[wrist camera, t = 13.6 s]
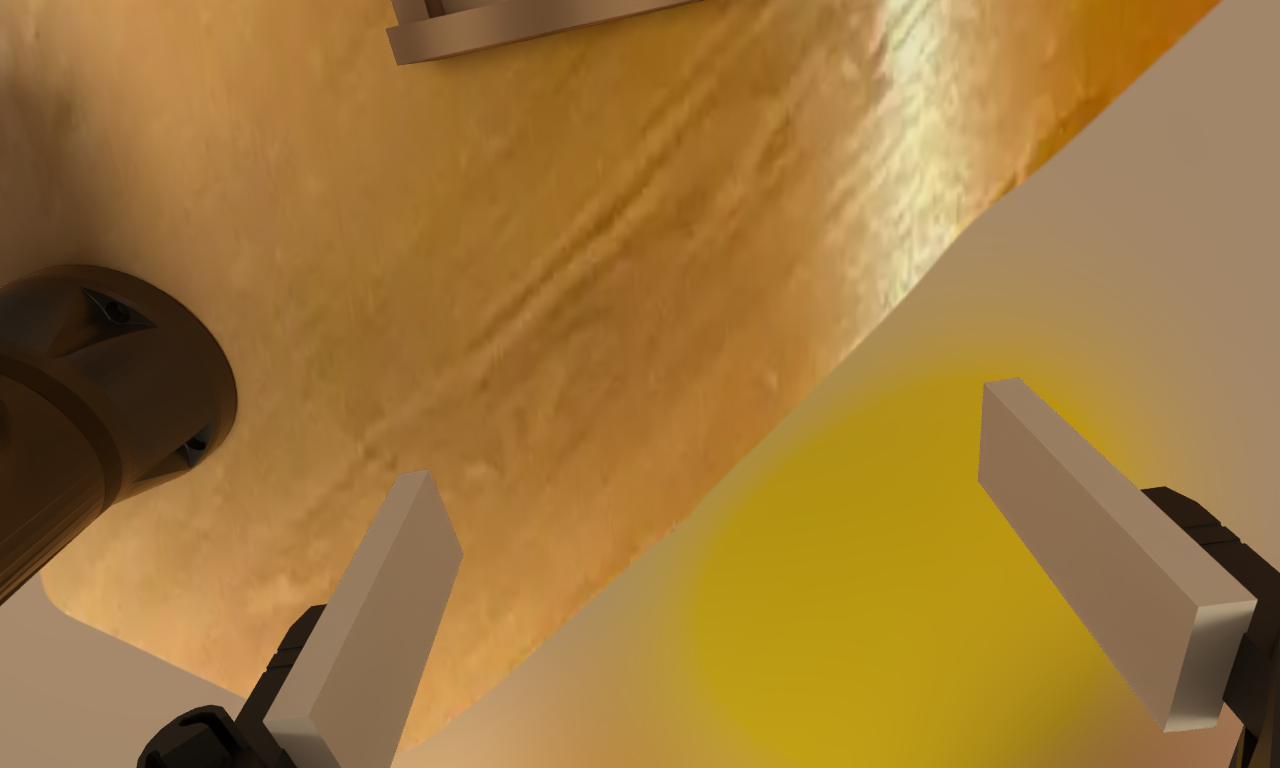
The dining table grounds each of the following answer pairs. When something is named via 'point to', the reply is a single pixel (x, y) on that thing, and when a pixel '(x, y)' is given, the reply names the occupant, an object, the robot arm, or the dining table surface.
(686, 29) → the dining table surface
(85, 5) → the dining table surface
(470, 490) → the dining table surface
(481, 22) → the wooden tray
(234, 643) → the dining table surface
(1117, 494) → the robot arm
